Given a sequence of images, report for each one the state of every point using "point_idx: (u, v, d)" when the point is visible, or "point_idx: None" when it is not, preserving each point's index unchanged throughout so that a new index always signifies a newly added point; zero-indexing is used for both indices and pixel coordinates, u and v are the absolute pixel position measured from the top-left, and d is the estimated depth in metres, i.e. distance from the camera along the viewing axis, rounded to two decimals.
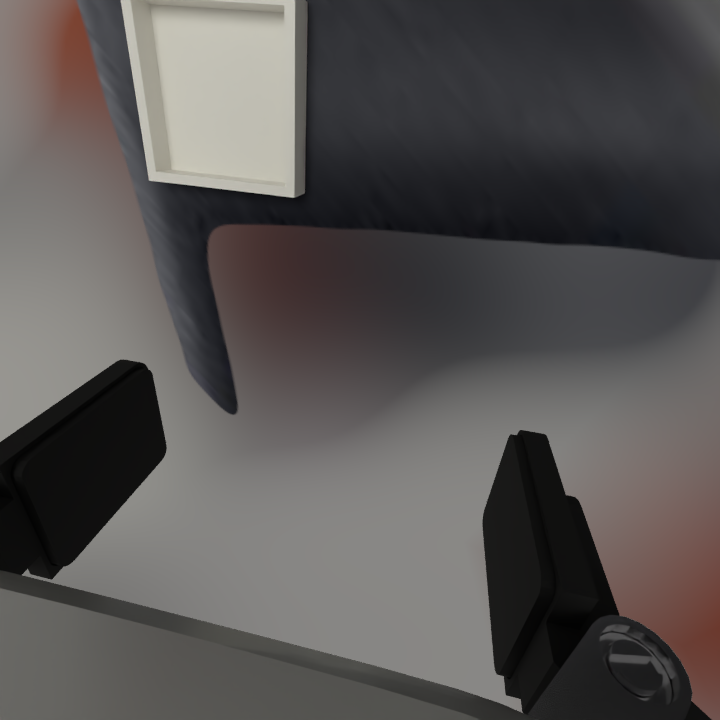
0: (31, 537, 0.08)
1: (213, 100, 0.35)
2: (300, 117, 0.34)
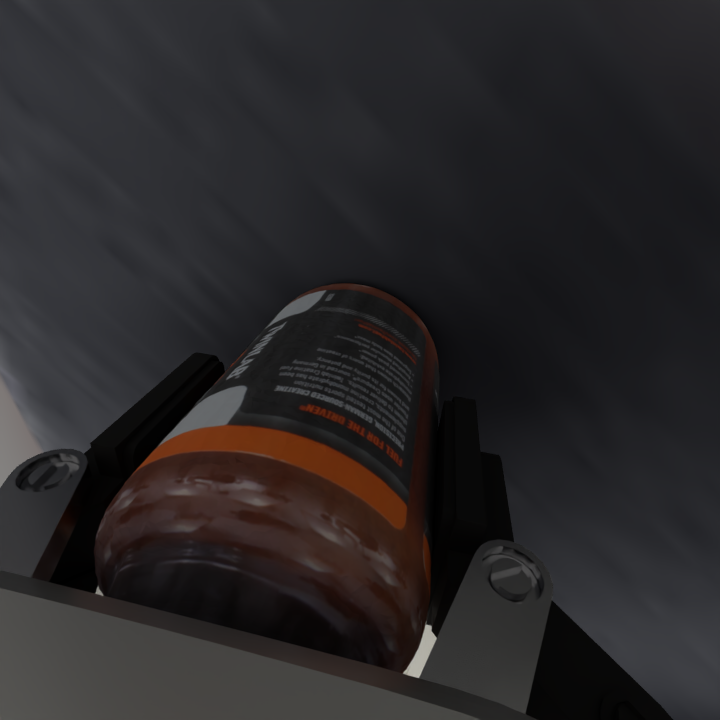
0: None
1: None
2: None
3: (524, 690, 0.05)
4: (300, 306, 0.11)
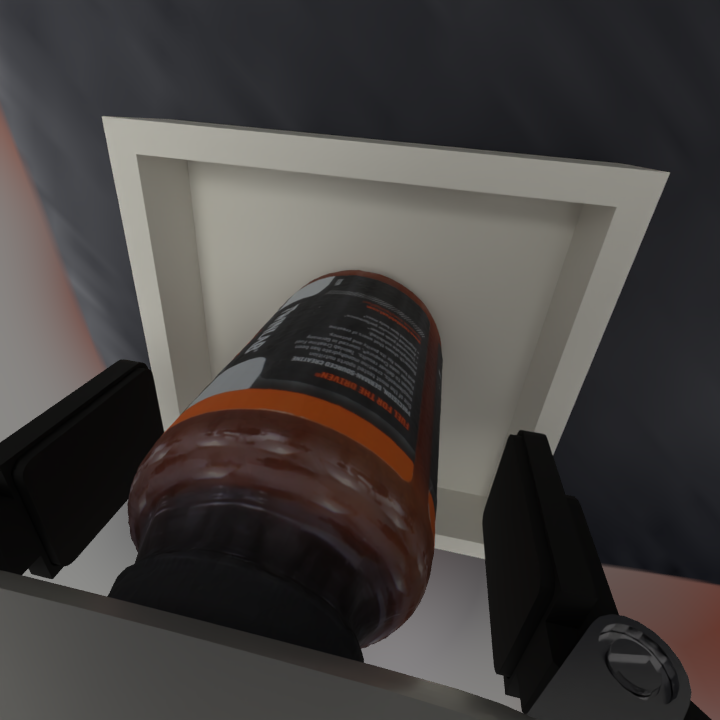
0: (31, 536, 0.08)
1: None
2: None
3: None
4: (311, 290, 0.12)
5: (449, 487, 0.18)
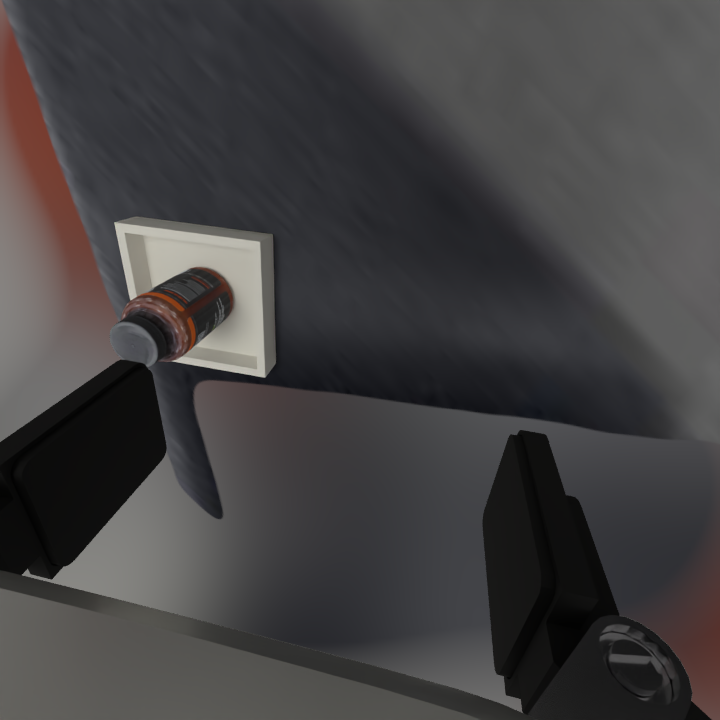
0: (31, 537, 0.08)
1: None
2: (269, 317, 0.40)
3: None
4: (179, 273, 0.38)
5: (252, 354, 0.44)
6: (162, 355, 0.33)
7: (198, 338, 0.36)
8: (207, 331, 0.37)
